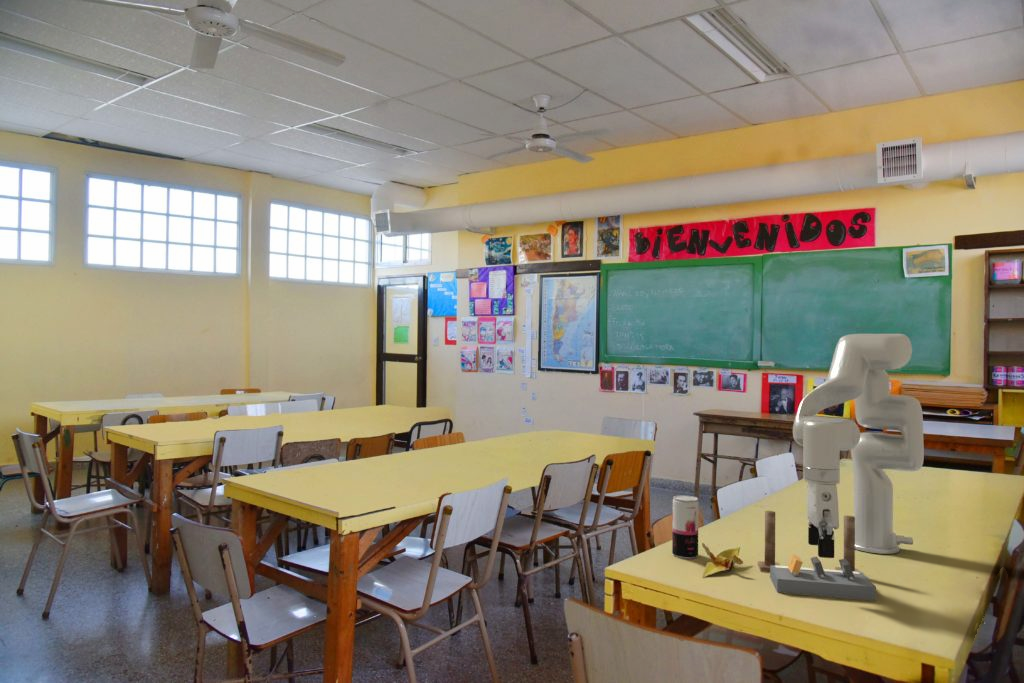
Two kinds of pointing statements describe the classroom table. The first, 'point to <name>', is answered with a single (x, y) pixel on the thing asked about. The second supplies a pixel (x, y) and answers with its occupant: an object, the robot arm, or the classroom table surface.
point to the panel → (822, 583)
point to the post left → (769, 543)
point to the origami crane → (721, 560)
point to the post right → (849, 542)
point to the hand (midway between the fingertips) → (820, 551)
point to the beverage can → (685, 527)
